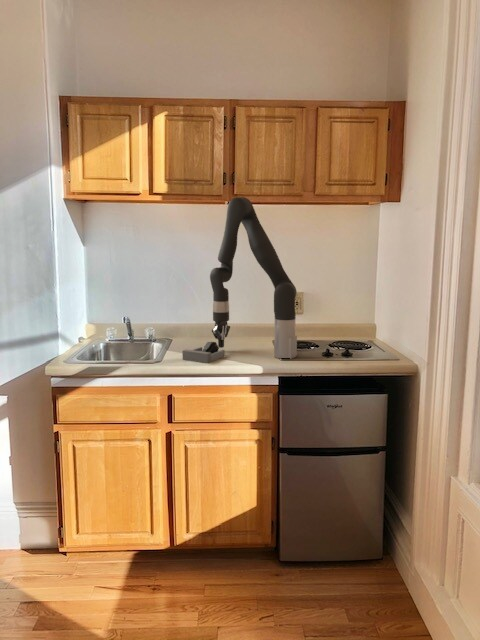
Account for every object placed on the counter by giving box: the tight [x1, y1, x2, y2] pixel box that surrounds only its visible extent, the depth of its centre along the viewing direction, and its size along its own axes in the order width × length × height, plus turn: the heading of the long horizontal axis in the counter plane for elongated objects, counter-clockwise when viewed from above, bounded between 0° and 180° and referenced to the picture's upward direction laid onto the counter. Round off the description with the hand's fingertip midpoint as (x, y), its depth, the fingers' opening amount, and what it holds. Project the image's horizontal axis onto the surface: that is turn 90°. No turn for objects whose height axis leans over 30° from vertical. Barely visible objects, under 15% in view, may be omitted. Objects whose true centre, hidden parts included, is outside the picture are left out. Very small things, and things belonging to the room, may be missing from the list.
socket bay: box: [181, 346, 226, 364], centre depth 225 cm, size 13×14×4 cm
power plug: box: [202, 341, 220, 354], centre depth 229 cm, size 6×8×12 cm
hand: (221, 347), depth 238 cm, fingers closed
